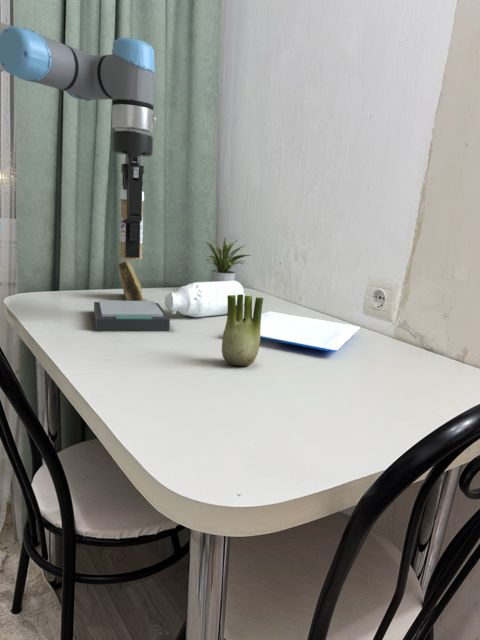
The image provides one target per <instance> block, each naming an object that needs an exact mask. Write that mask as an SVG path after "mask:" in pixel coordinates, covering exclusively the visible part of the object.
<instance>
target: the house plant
mask: <svg viewBox="0 0 480 640" xmlns="http://www.w3.org/2000/svg"><path fill="white" fill-rule="evenodd" d="M226 239H227V238H226V236H224V238H223V242H222V248H220V246H219V244H218V243H216V241H215V240H211V241H212V242H214V246H215V247H214V246H213V245H212V243H211V242H206V241H204V243H205V244H206V246H207V247H208V248H209V249H210V250H211V252H212V253H213V255H209V256H208V257H209V258H207V259H205V262H208V264H211V262H212V264H213V265H214V266H215V267H216V269H211V282H216V281H232V280H233V281H234V280H235V277H236V271H232V270H231V269H232V267H235V265H238V264H240V265H243V266H245V265H247V263H246V262H244V260H243V259H242V258H244V257H245V258H246V257H250V256H251V254H238V255H235V254H236V253H237V252H238V251H240V250H241V249H242V248H244V247H246V244H245V245H241V246H239V247H238V248H235V249H233V250H232V251H231V249H232V247H233V246H234V244H236V242H237V241H238V239H236V240H235V241H233V242H232V241H230V242H229V243H227V244H226V241H227V240H226ZM230 251H231V252H230ZM234 255H235V256H234ZM238 259H242V260H238ZM209 261H211V262H209Z"/></svg>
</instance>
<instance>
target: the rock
mask: <svg viewBox="0 0 480 640" xmlns="http://www.w3.org/2000/svg"><path fill="white" fill-rule="evenodd" d="M118 271H119V276H120V281H121V287H122V291H123V294H124V297H125V301H144V299H143V293H142V290H143V289H142V284H141V282H140V280H139V278H138V276H137V273H136V270H135V268H134V266H133V265H132V263H130V261H129V260H125V261H123V262H120V263H118Z"/></svg>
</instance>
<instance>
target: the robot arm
mask: <svg viewBox="0 0 480 640" xmlns="http://www.w3.org/2000/svg"><path fill="white" fill-rule="evenodd" d="M155 67H156V65H155V51H154V48H153V47H152V45H151V44H149V43H148V42H146V41H144V40H141V39H137V38H132V37H119V38H117V39H115V40H113V43H112V49H111V54H102V55H100V54H99V55H98V54H97V55H96V54H95V55H94V54H91V53H88V52H85V51H82V50H81V49H78V48H75V47H72V46H70V45H67V44H65V43H62V42H59V41H57V40H55V39H52V38H49V37H47V36H45V35H42V34H40V33H38V32H36V31H34V30H31V29H30V28H26V27H21V26H17V25H11V24H8V23H4V22H1V21H0V73H2V72H5V73H8V74H9V75H11V76H13V77H16V78H18V79H20V80H23V81H27V82H31V83H35V84H39V85H42V86H45V87H46V86H47V87H50V88H54V89H57V90H60V91H62V92H66V93H67V94H68V95H69V96H70V97H71V98H73V99H76V100H84V101H87V102H88V101H89V102H90V101H98V100H103V101H104V100H112V110H111V113H112V114H111V127H112V129H113V130H115V131H113V133H112V151H113V153H116V154H119V155H125V156H124V157H125V158H124V163H122V164H121V166H120V171H121V175H122V177H121V183H122V184H121V185H122V190H124V189H125V190H127V219H126V220H125V219H123V223H126V245H125V257H131V258H140V222H141V221H142V192H143V187H144V184H143V183H144V180H143V179H144V177H143V176H144V174H145V166H144V165H141V157H142V158H143V157H145V158H146V157H147V158H148V157H152V156H153V151H154V149H153V148H154V137H153V136H152V135H150V134H152V133H153V132H154V123H156V122H157V117H155V116H153V115H154V95H155V80H156V79H155V77H156V68H155ZM1 221H2V220H0V231H1V230H2V222H1ZM128 223H129V224H128Z"/></svg>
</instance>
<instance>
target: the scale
mask: <svg viewBox="0 0 480 640" xmlns="http://www.w3.org/2000/svg"><path fill="white" fill-rule="evenodd" d="M93 315H94V321H95V329H96V331H97V332H170V326H171V325H170V324H171V319H170V317H169V316H168V315H167V314H166V312H165V311H164V309H163V308H162V307H161V305H160V304H159V302H155V300H143V301H126V300H115V299H114V300H113V299H112V300H108V299H104V300H102V299H98V301H94V302H93Z"/></svg>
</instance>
